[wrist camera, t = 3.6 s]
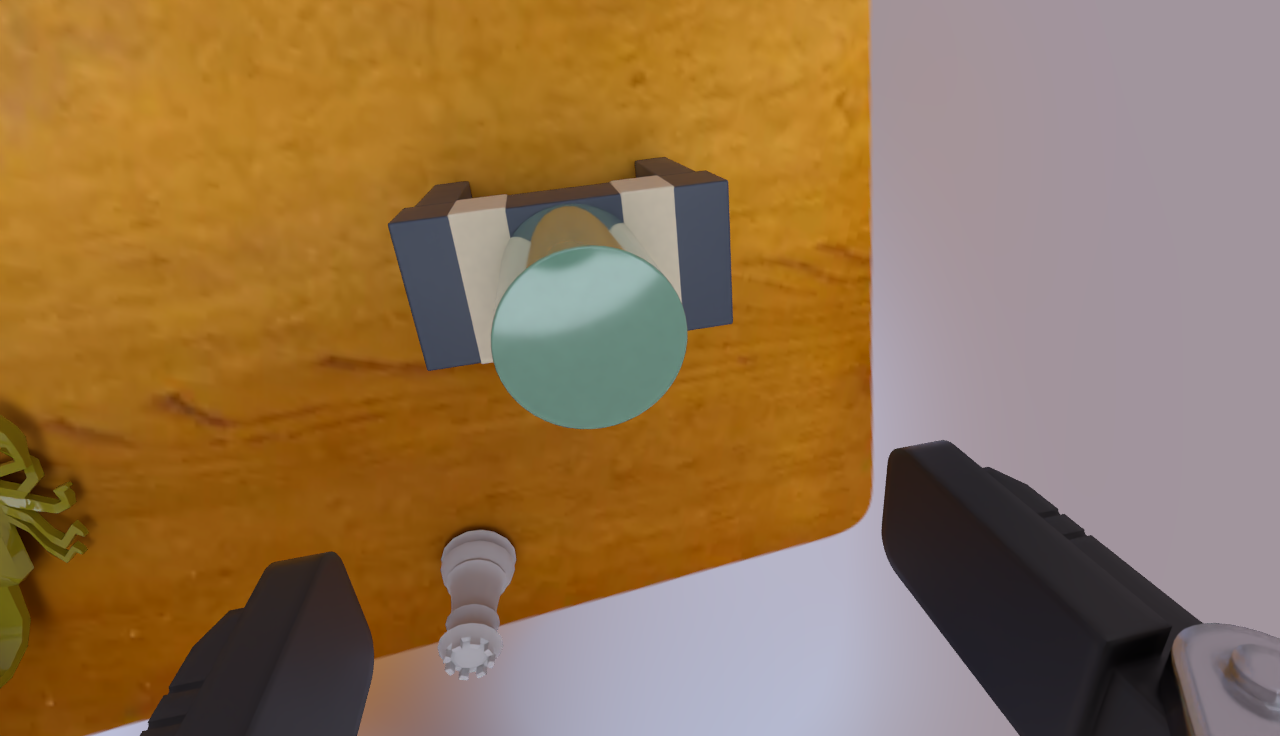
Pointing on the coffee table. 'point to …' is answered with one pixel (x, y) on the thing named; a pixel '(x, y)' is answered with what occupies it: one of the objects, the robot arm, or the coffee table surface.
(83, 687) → the coffee table surface
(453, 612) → the rook chess piece
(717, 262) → the barricade
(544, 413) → the mint green cylinder
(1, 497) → the scorpion
